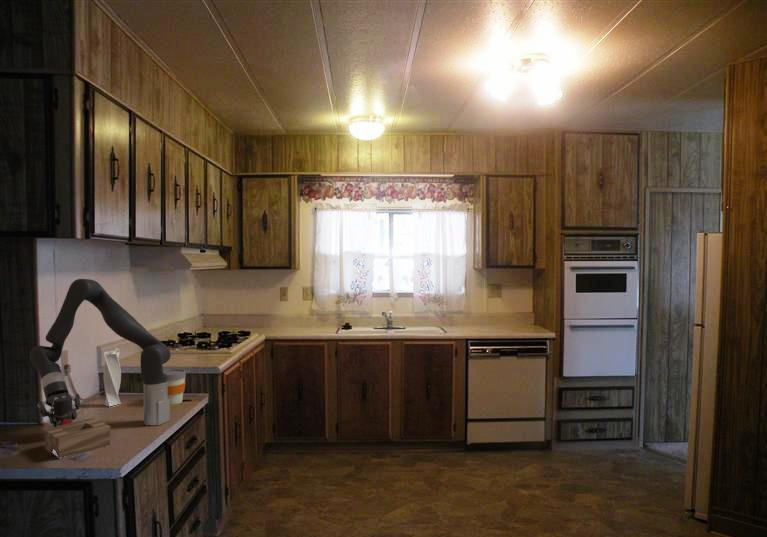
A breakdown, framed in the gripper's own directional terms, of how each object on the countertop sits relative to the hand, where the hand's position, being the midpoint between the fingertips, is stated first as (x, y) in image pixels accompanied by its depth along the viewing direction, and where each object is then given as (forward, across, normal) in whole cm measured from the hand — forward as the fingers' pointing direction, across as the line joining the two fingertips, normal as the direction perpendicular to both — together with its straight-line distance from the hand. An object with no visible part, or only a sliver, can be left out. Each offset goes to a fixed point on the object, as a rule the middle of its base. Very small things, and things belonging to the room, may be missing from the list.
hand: (64, 420), depth 172 cm
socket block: (+15, 0, -5) cm, 16 cm away
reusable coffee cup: (-4, +49, +14) cm, 51 cm away
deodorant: (+4, 0, +6) cm, 7 cm away
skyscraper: (-18, +29, +28) cm, 44 cm away
